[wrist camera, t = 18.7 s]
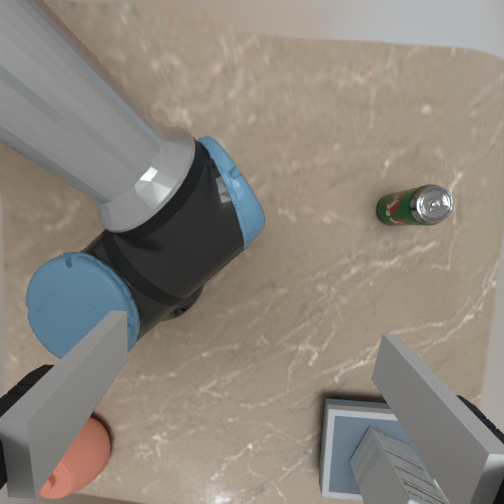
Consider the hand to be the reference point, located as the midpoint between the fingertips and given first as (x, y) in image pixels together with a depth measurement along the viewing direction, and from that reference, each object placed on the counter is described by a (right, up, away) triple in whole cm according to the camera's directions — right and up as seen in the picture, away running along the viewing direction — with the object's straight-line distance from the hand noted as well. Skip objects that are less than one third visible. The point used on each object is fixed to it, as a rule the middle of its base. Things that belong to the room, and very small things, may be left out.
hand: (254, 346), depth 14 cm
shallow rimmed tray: (+21, -27, +35) cm, 49 cm away
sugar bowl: (-31, -29, +39) cm, 58 cm away
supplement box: (+20, -28, +31) cm, 46 cm away
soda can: (+23, +12, +32) cm, 41 cm away
